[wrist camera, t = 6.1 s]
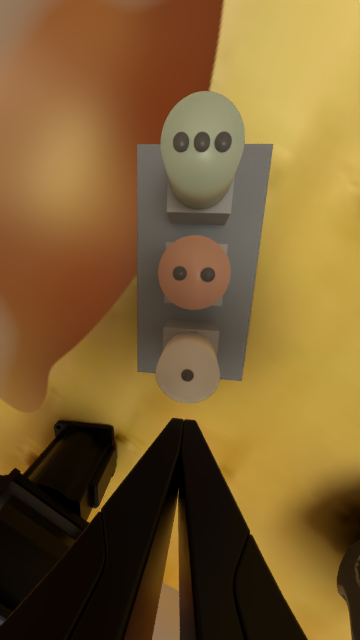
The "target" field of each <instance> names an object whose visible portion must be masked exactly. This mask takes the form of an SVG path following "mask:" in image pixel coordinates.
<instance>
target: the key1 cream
mask: <svg viewBox="0 0 360 640" xmlns="http://www.w3.org/2000/svg"><path fill="white" fill-rule="evenodd" d="M156 379H157V382H158V384H159V386H160V388H161V390H162V391H163V392H164V393H165V394H166V395H167V396H168V397H170V398H172V399H173V400H176V401H178V402H182V403H196V402H200V401H203V400H205V399H206V398H208V397H209V396H211V395H212V394H213V393H214V391H215V390H216V388H217V386H218V384H219V380H220V370H219V365H218V361H217V357H216V353H215V349H214V347H213V345H212V344H211V342H210V341H209V340H208V339H207V338H205V337H204V336H202V335H200V334H198V333H193V332H184V333H180V334H178V335H176V336H174V337H173V338H171V339H170V340H169V341H168V343H167V344H166V346H165V348H164V350H163V352H162V355H161V357H160V359H159V361H158V364H157V367H156Z"/></svg>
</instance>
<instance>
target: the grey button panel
mask: <svg viewBox="0 0 360 640" xmlns="http://www.w3.org/2000/svg"><path fill="white" fill-rule="evenodd" d="M272 149H273V144H244V149H243V153H242V156H241V159H240V162H239V165H238V167H237V170H236V173H235V176H234V178H233V181H232V184H231V186H230V188H229V190H228V192H227V193H226V195H225V196H224V197H223V198H222V199H221V200H220V201H219V202H218V203H216V204H215V205H213V206H210V207H207V208H203V209H197V208H191V207H189V206H186V205H185V204H183V203H182V202H180V201H179V200H178V199H177V197H176V196H175V195H174V193H173V191H172V189H171V186H170V182H169V179H168V176H167V172H166V169H165V165H164V162H163V158H162V154H161V144H143V145H142V144H138V145H137V235H138V236H137V252H138V253H137V257H138V258H137V259H138V261H137V266H138V267H137V270H138V271H137V291H138V372H147V373H156V367H157V364H158V361H159V359H160V357H161V355H162V352H163V350H164V348H165V346H166V344H167V343H168V341H169V340H170V339H171V338H173V337H174V336H176V335H178V334H180V333H184V332H193V333H198V334H200V335H202V336H204V337H205V338H207V339H208V340H209V341H210V342H211V344H212V345H213V347H214V349H215V353H216V357H217V361H218V365H219V370H220V379H226V380H237V381H242V374H243V367H244V359H245V352H246V344H247V337H248V329H249V322H250V314H251V307H252V299H253V291H254V284H255V276H256V269H257V261H258V254H259V246H260V239H261V231H262V224H263V216H264V209H265V201H266V194H267V186H268V179H269V171H270V164H271V156H272ZM191 235H199V236H204V237H207V238H210V239H212V240H213V241H215V242H216V243H218V244H219V245H220V246H221V247H222V248H223V250H224V251H225V253H226V255H227V256H228V259H229V262H230V268H231V276H230V282H229V285H228V287H227V290H226V291H225V293H224V294H223V296H222V297H221V298H220V299H219V300H218V301H217V302H216V303H214V304H213V305H211V306H209V307H207V308H204V309H199V310H188V309H184V308H181V307H178V306H177V305H175V304H173V303H172V302H171V301H170V300H169V299H168V298H167V297H166V296H165V294H164V293H163V291H162V289H161V287H160V284H159V279H158V267H159V263H160V260H161V257H162V255H163V253H164V252H165V250H166V249H167V248H168V247H169V246H170V245H171V244H172V243H173V242H175V241H176V240H178V239H180V238H183V237H186V236H191Z"/></svg>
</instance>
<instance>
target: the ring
mask: <svg viewBox="0 0 360 640" xmlns="http://www.w3.org/2000/svg"><path fill="white" fill-rule="evenodd" d="M337 588H338V593H339V594H340V595H341V596H342V597H343V598H344V599H345V600H346V602H347V606H348V610H349V616H350V625H351V636H352V640H360V539H359V540H358V541H357V542H355V543H354V544H352V545H351V546H350V547H349V548H348V550H347V552H346V553H345V555H344V557H343V559H342V561H341V564H340V567H339V571H338V575H337Z"/></svg>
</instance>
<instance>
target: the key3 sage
mask: <svg viewBox="0 0 360 640" xmlns="http://www.w3.org/2000/svg"><path fill="white" fill-rule="evenodd" d="M244 143H245V131H244V125H243V121H242V118H241V115H240V113H239V111H238V110H237V108H236V107H235V105H234V104H233V103H232V102H231V101H230V100H229V99H228V98H226V97H225V96H223V95H221V94H218V93H216V92H211V91H202V92H197V93H193V94H191V95H189V96H187V97H185V98H184V99H182V100H181V101H180V102H179V103H178V104H177V105H176V106H175V107H174V108H173V109H172V111H171V112H170V114H169V115H168V117H167V119H166V121H165V124H164V127H163V130H162V135H161V154H162V158H163V162H164V165H165V169H166V172H167V176H168V179H169V182H170V186H171V189H172V191H173V193H174V195H175V196H176V197H177V199H178V200H179V201H180V202H182V203H183V204H185V205H186V206H189V207H191V208H197V209H203V208H207V207H210V206H213V205H215V204H216V203H218V202H219V201H220V200H221V199H222V198H223V197H224V196H225V195H226V193H227V192H228V190H229V188H230V186H231V184H232V181H233V178H234V176H235V173H236V170H237V167H238V165H239V162H240V159H241V156H242V153H243V149H244Z"/></svg>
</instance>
